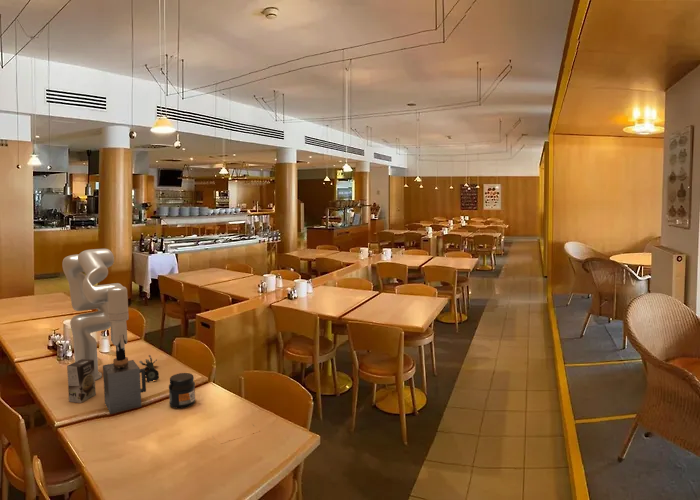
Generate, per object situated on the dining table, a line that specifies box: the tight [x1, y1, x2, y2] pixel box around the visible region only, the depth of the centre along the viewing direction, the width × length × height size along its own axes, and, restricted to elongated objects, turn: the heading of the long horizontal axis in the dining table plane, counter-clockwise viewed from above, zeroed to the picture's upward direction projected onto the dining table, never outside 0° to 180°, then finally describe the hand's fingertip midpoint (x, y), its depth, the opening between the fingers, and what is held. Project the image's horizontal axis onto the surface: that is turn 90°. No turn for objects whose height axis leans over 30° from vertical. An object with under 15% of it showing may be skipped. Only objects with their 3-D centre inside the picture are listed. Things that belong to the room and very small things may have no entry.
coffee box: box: [66, 359, 96, 404], centre depth 215 cm, size 9×6×16 cm
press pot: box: [102, 359, 147, 415], centre depth 209 cm, size 12×15×17 cm
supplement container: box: [168, 372, 196, 409], centre depth 210 cm, size 10×10×12 cm
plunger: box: [112, 356, 129, 368], centre depth 208 cm, size 10×10×18 cm
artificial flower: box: [139, 354, 160, 383], centre depth 244 cm, size 9×22×10 cm, turn 18°
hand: (120, 359), depth 207 cm, fingers closed
